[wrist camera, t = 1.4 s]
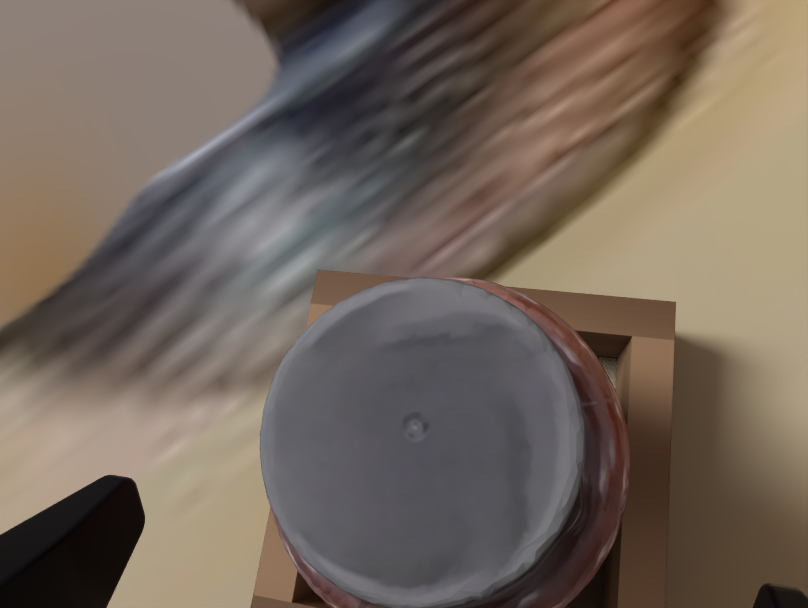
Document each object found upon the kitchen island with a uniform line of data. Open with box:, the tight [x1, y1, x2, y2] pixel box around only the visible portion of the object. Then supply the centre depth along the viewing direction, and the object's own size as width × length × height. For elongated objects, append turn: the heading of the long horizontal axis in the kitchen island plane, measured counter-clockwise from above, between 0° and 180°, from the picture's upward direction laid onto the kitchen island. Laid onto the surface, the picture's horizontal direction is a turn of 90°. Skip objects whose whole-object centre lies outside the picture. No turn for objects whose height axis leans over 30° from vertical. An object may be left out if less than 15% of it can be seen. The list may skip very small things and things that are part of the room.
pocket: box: [251, 270, 676, 608], centre depth 17 cm, size 10×10×2 cm
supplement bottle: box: [260, 276, 630, 608], centre depth 13 cm, size 6×6×11 cm
